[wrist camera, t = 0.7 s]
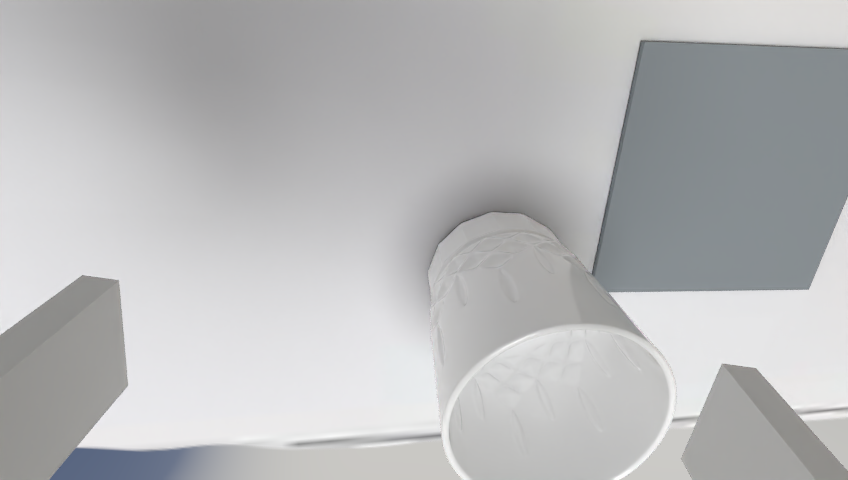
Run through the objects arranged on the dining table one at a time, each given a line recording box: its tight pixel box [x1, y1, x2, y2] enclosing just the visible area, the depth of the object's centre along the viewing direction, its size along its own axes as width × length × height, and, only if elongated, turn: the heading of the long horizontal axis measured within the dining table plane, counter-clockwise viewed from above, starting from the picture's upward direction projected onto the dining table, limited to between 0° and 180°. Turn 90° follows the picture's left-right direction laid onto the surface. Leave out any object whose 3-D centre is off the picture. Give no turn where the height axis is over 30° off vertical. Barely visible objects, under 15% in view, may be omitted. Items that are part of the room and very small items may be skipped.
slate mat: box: [592, 41, 848, 292], centre depth 25 cm, size 12×12×1 cm
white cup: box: [428, 212, 677, 480], centre depth 22 cm, size 8×8×10 cm
